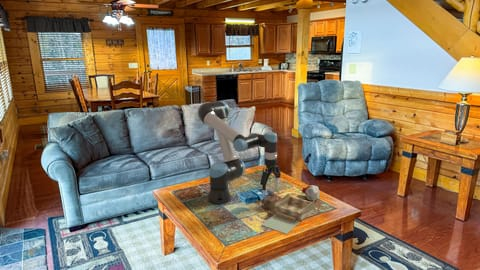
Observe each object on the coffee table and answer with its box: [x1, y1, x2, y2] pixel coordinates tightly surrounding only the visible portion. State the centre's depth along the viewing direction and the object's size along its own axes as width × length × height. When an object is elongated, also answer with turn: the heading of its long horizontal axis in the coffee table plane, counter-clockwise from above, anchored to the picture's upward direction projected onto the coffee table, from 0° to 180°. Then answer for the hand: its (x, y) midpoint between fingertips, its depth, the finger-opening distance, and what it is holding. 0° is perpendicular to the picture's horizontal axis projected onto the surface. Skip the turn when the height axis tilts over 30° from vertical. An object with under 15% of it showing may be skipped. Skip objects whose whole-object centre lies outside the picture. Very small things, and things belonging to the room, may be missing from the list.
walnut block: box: [263, 195, 278, 211], centre depth 201 cm, size 6×6×6 cm
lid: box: [260, 212, 301, 235], centre depth 182 cm, size 16×16×3 cm
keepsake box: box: [273, 193, 316, 223], centre depth 195 cm, size 18×17×6 cm
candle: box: [301, 184, 320, 202], centre depth 213 cm, size 9×11×15 cm
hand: (270, 191), depth 199 cm, fingers open, 13 cm apart
